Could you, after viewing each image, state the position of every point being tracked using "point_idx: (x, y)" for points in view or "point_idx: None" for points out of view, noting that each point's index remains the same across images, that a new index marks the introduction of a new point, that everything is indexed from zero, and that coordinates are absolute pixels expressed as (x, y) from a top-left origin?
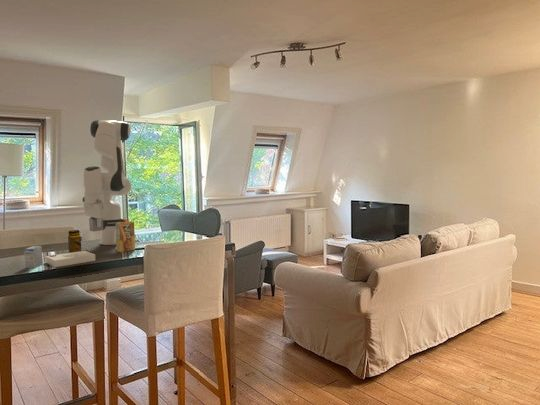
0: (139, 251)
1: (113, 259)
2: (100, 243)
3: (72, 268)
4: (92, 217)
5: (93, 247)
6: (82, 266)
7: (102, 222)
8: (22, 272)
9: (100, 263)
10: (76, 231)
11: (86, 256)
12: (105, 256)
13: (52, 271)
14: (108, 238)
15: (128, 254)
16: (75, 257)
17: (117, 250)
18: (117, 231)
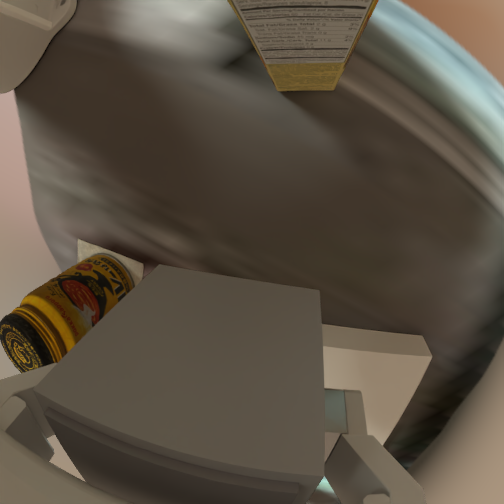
0: (409, 11)
1: (486, 262)
2: (4, 91)
3: (438, 433)
4: (35, 451)
5: (34, 142)
6: (452, 407)
7: (323, 393)
8: (327, 499)
9: (487, 346)
10: (44, 361)
11: (412, 392)
12: (373, 239)
13: (405, 469)
14: (11, 52)
15: (447, 112)
16: (391, 431)
17: (289, 89)
18: (299, 35)
